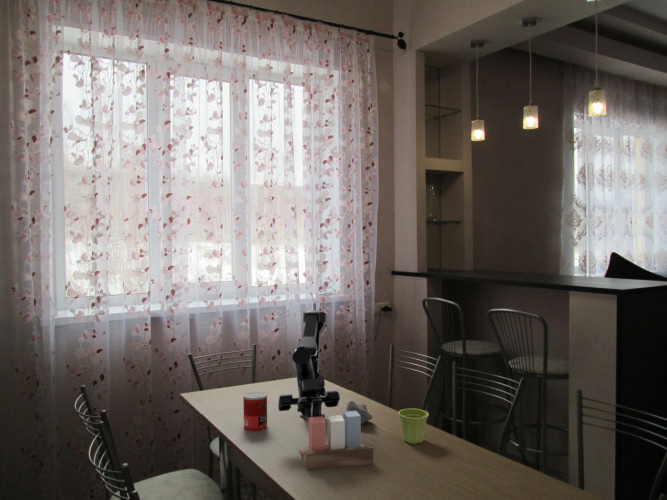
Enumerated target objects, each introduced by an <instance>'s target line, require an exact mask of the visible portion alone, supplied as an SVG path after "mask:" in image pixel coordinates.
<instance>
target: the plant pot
mask: <svg viewBox="0 0 667 500" xmlns="http://www.w3.org/2000/svg"><path fill="white" fill-rule="evenodd" d="M398 415H399V419H400V422H401V429H402V437H403V441H405V443H408V444H413V445H414V444H418V443H419V444H421V443H423V442H424V439H425V438H424V437H425V431H426V430H425V429H426V423H427V420H428V417H429V412H428V411H426V410H423V409H420V408H404V409H400V410H399V411H398Z"/></svg>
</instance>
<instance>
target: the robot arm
mask: <svg viewBox="0 0 667 500" xmlns="http://www.w3.org/2000/svg"><path fill="white" fill-rule="evenodd" d="M302 317H303V318H302V323H304V328H303V335H302V338H301V340H299V341H298V343H297V346H296V347H297V348H295V349H294V352H293V353H292V358H291V360H292V362H293V366H294V370H295V374H296V381H297V382H296V383H297V390H298V397H293V394H292V393H289V394H286V393H285V394H280V396H279V397H278V403H277V406H278V411H279V412H285V411H286V412H288V411H289V410H291V408H292V406H295V405H296V406H297V413H301V415H299V417H300V418H303V419H305V421H307V423H308V424H309V417H323V418H324V417H326V415H325V414H323V413H322V406H323V403H324V407H326V408H335V407H338V406H339V402H340V399H341V396H340V393H339V391H338V390H331V391H329V390H328V391H327V390H326V388H325V387H326V385H325V384H326V382H325V377H324V376H323V375H320V373H319V369H320V365H319V364H320V357H321V352H320V348H321V334H322V333H323V332H324V331H325V328H326V324H328V323H327V322H328V315H327V313H326V312H324V310H307V311H305V312H303V316H302Z"/></svg>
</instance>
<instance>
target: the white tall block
mask: <svg viewBox="0 0 667 500" xmlns="http://www.w3.org/2000/svg"><path fill="white" fill-rule="evenodd" d="M326 420H327V421H326V426H327V427H326V431H327V433H326V443H327V444H326V445H327V450H332V449H343V448H345V420H344V419H343V416H342V415H341V414H338V415H327V417H326Z"/></svg>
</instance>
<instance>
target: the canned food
mask: <svg viewBox="0 0 667 500" xmlns="http://www.w3.org/2000/svg"><path fill="white" fill-rule="evenodd" d="M243 426H244V427H243V428H244V429H245V430H247V431H253V432H255V431H257V432H258V431H262V430H265V429H266V428H267V426H268V394H267V393H265V392H262V391H250V392H247V393H245V394H243Z"/></svg>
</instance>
